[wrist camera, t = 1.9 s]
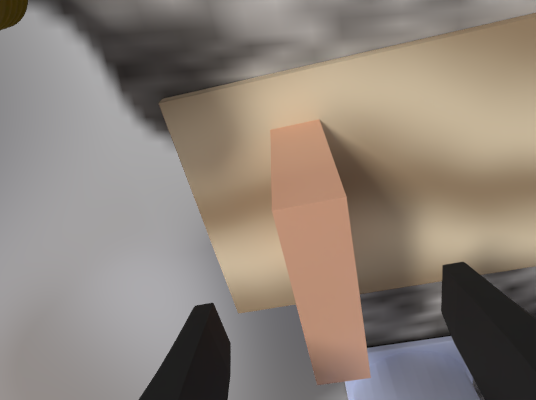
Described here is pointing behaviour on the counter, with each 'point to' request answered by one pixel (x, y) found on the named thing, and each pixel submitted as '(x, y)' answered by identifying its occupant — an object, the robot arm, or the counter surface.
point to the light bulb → (11, 12)
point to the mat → (378, 158)
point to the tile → (318, 251)
